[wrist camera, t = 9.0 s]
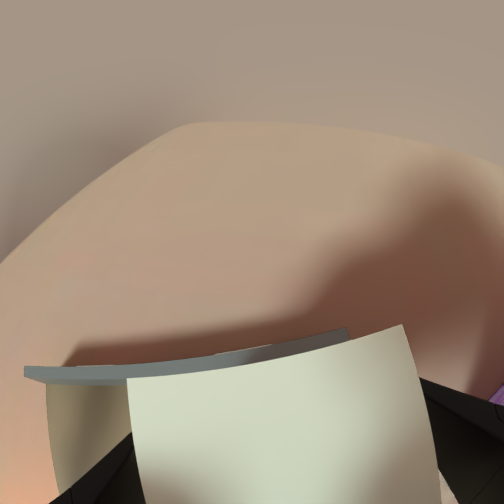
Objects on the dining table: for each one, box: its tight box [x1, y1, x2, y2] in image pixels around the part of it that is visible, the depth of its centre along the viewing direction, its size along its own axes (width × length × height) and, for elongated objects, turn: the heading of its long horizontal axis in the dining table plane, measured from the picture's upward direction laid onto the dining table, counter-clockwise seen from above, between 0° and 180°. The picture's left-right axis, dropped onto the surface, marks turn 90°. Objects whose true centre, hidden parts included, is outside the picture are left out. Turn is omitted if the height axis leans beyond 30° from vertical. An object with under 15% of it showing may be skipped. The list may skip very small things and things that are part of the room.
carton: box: [127, 324, 442, 504], centre depth 8 cm, size 6×6×11 cm
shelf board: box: [46, 384, 132, 495], centre depth 11 cm, size 21×15×1 cm
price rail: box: [24, 327, 350, 386], centre depth 15 cm, size 21×1×4 cm, turn 100°
